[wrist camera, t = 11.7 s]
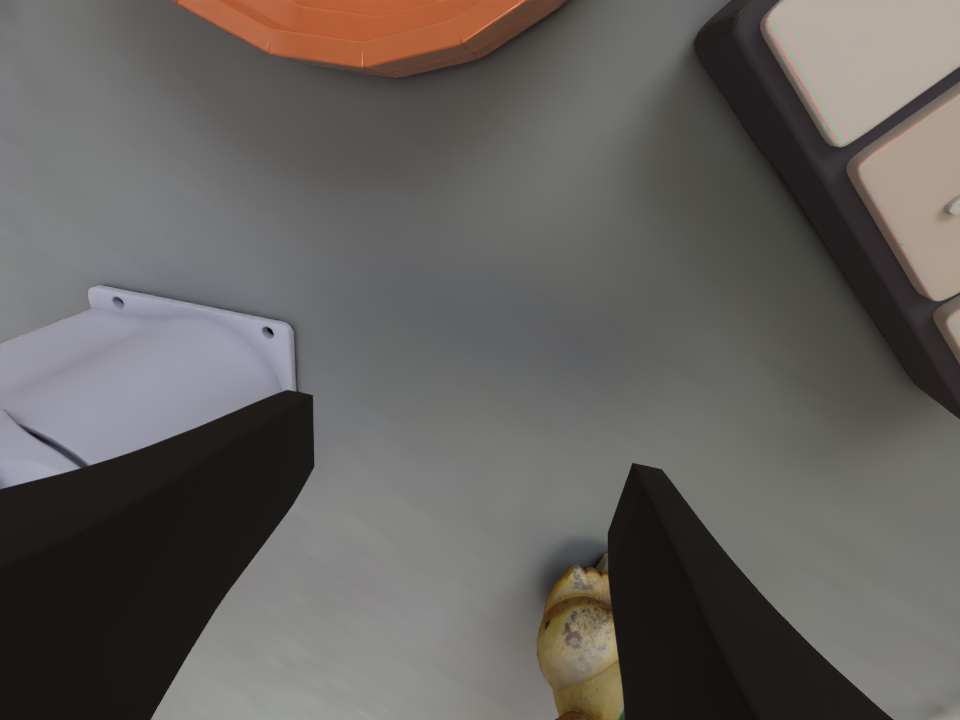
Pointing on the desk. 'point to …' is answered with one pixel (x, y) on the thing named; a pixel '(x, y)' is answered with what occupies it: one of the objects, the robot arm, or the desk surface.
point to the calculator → (863, 150)
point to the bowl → (374, 30)
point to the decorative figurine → (581, 646)
